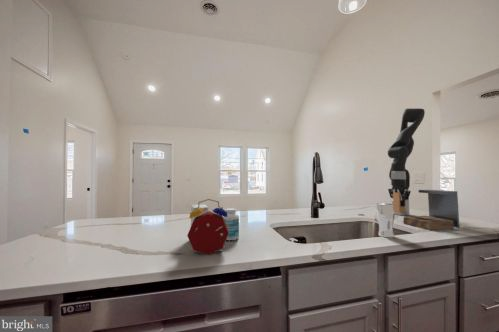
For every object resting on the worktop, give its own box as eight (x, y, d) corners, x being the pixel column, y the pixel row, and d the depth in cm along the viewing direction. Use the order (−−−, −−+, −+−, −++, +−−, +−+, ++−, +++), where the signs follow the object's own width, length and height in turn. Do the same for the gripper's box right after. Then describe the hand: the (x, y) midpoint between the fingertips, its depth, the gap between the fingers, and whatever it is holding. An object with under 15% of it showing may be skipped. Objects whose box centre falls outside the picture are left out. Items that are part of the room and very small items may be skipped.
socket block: (403, 223, 116) (403, 216, 116) (425, 222, 119) (425, 215, 119) (429, 230, 102) (429, 222, 102) (453, 228, 105) (453, 220, 106)
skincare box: (190, 239, 90) (190, 204, 91) (204, 237, 93) (205, 204, 94) (192, 245, 82) (193, 207, 83) (208, 243, 85) (208, 206, 86)
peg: (393, 211, 126) (393, 192, 126) (399, 211, 127) (398, 192, 127) (399, 212, 122) (398, 192, 122) (405, 212, 123) (404, 192, 123)
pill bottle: (224, 242, 86) (224, 210, 86) (220, 237, 93) (220, 208, 93) (241, 240, 88) (241, 209, 89) (236, 235, 95) (236, 207, 96)
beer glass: (375, 236, 93) (374, 203, 94) (378, 232, 98) (377, 202, 99) (394, 239, 88) (392, 205, 89) (396, 235, 93) (394, 203, 94)
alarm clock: (227, 247, 79) (227, 197, 80) (228, 256, 71) (228, 200, 72) (189, 250, 77) (190, 198, 78) (185, 259, 68) (186, 201, 69)
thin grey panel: (420, 222, 118) (418, 189, 119) (430, 221, 120) (429, 189, 121) (447, 228, 105) (445, 191, 106) (459, 227, 106) (457, 191, 107)
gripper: (383, 178, 131) (384, 204, 131) (403, 178, 117) (404, 208, 117) (393, 178, 133) (394, 203, 132) (414, 178, 119) (415, 207, 118)
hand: (399, 205), depth 124 cm, fingers closed on peg, 4 cm apart
